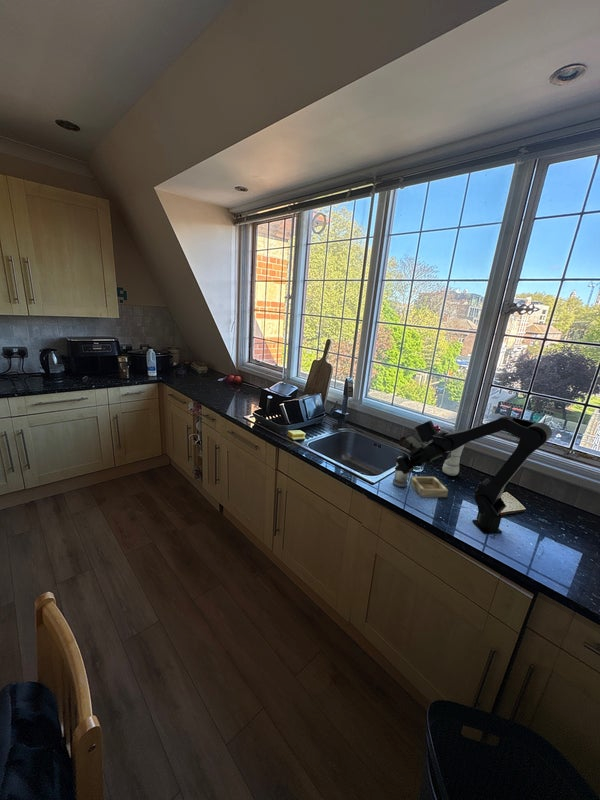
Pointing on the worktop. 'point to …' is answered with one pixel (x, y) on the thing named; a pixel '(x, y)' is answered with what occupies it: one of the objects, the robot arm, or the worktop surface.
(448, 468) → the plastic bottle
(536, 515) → the worktop surface
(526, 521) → the worktop surface
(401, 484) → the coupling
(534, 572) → the worktop surface
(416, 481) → the square wooden tray
